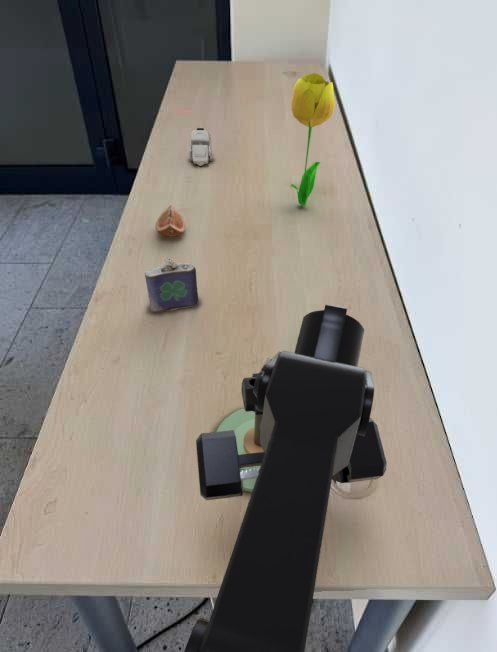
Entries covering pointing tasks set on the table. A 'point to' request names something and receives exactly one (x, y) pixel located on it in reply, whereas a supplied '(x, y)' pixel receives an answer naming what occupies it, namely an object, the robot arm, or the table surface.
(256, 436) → the strawberry fork
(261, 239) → the table surface
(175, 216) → the fruit slice
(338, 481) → the robot arm
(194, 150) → the white toy car
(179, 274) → the flask
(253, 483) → the plate
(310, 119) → the flower
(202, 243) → the table surface
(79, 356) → the table surface
